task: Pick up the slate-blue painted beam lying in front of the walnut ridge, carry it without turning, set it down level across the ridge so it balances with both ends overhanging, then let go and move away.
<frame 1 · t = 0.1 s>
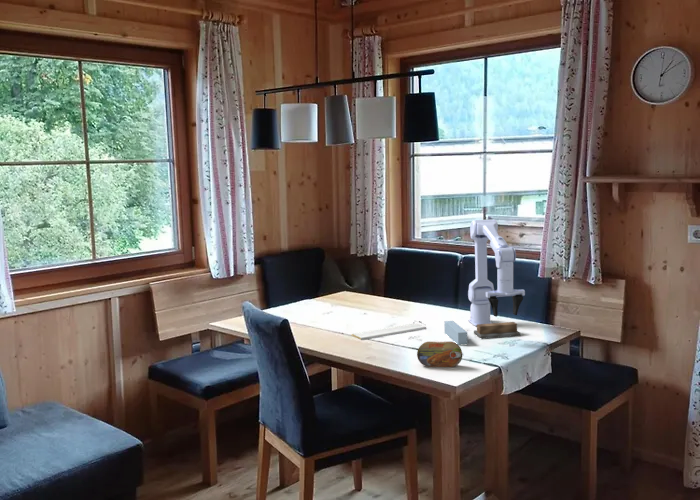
hand: (505, 315, 253), 10 cm above the table, tool pointing down, fingers open, 7 cm apart
baseboard: (388, 333, 274), on the table
tin: (439, 366, 228), on the table
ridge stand: (496, 334, 264), on the table
beam: (455, 339, 260), on the table
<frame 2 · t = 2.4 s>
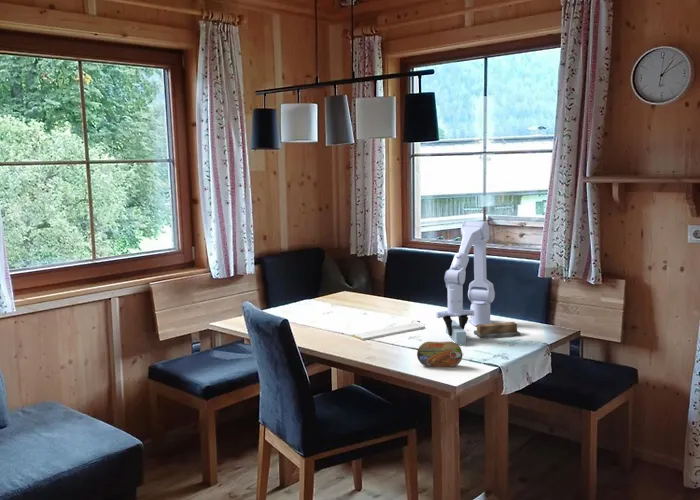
hand: (455, 334, 260), 1 cm above the table, tool pointing down, fingers closed on beam, 4 cm apart
beam: (455, 338, 260), on the table, touching gripper
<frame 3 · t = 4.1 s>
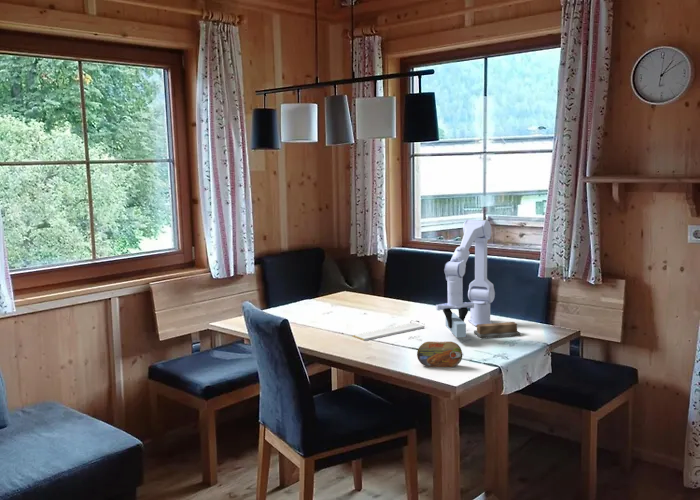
hand: (455, 327, 260), 4 cm above the table, tool pointing down, fingers closed on beam, 4 cm apart
beam: (455, 331, 260), point 3 cm above the table, touching gripper
everything else where it was.
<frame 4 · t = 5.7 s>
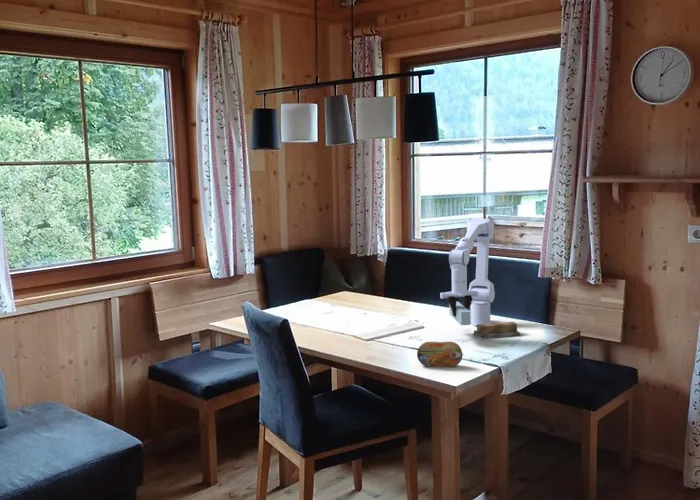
hand: (459, 315, 260), 9 cm above the table, tool pointing down, fingers closed on beam, 4 cm apart
beam: (459, 319, 260), point 7 cm above the table, touching gripper
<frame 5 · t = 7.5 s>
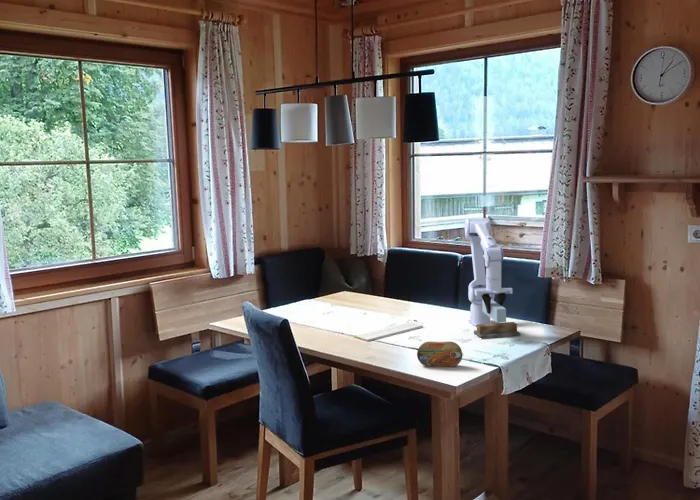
hand: (493, 312, 262), 9 cm above the table, tool pointing down, fingers closed on beam, 4 cm apart
beam: (493, 316, 262), point 7 cm above the table, touching gripper
when the fingers open (7 cm above the table, at t = 9.0 s): beam stays where it is, resting on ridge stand.
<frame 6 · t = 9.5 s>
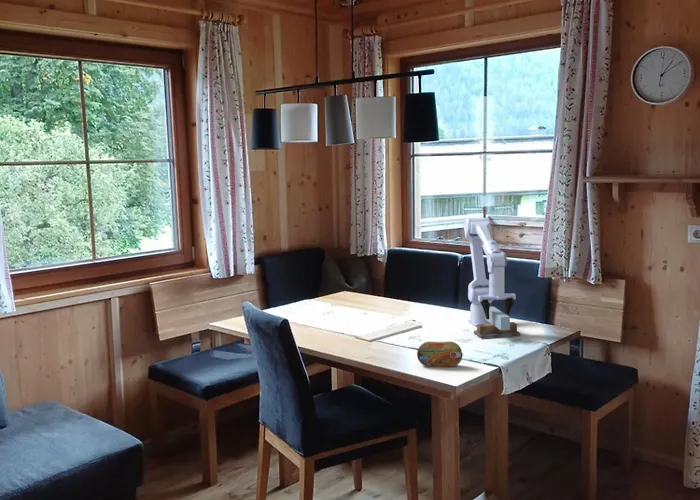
hand: (496, 318, 263), 7 cm above the table, tool pointing down, fingers open, 7 cm apart
beam: (497, 324, 263), point 4 cm above the table, touching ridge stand
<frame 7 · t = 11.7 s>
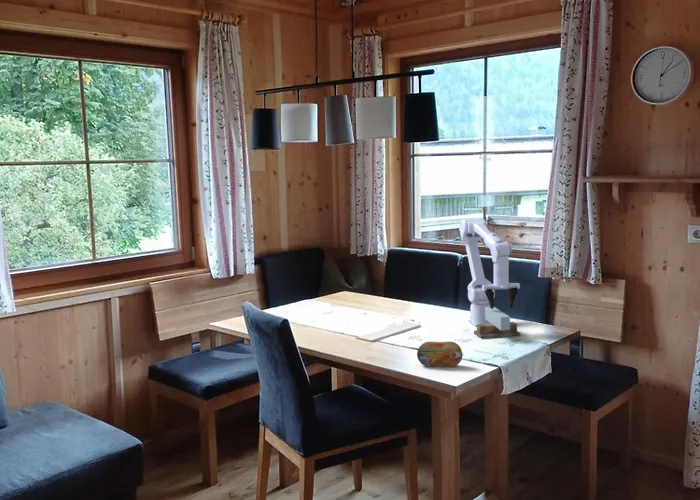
hand: (501, 307, 264), 10 cm above the table, tool pointing down, fingers open, 7 cm apart
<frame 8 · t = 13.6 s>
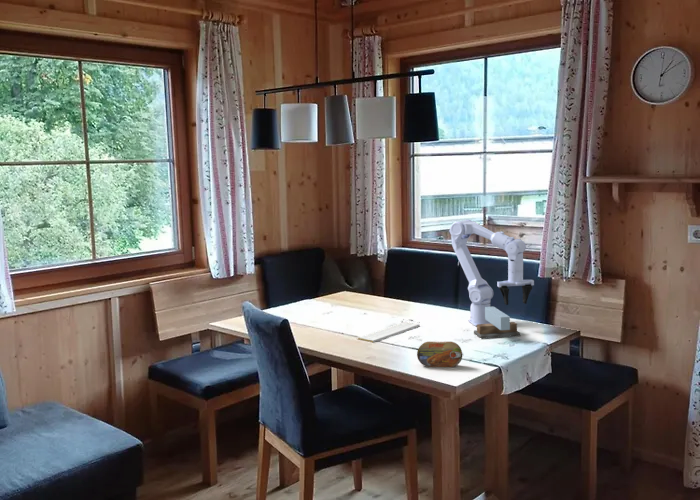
hand: (515, 303, 270), 10 cm above the table, tool pointing down, fingers open, 7 cm apart
at the end: beam 0.1 cm off-centre on the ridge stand, point 4.2 cm above the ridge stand's base; beam tilted 0°; beam touching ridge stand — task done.
